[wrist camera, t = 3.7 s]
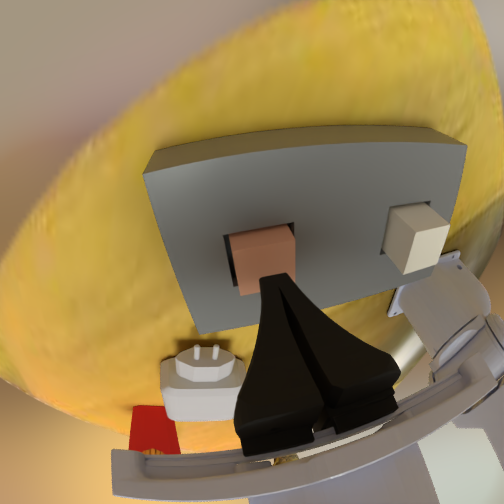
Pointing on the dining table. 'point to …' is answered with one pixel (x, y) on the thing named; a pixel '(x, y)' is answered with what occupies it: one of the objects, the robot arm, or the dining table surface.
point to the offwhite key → (414, 236)
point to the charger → (201, 384)
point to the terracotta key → (262, 255)
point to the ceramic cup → (285, 459)
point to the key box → (296, 208)
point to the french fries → (153, 431)
